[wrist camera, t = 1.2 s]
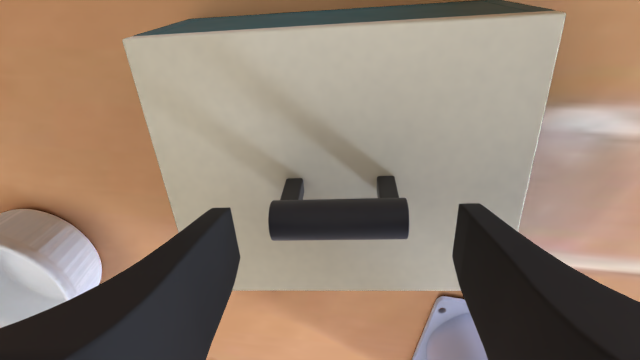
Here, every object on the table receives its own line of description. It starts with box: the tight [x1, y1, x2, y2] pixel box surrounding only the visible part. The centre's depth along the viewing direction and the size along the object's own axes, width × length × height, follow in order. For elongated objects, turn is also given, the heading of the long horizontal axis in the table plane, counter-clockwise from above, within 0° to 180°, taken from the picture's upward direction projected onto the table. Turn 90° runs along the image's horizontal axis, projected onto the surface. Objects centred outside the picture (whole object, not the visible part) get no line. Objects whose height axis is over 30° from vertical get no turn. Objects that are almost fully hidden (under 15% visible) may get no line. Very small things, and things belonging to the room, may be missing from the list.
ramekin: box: [0, 209, 102, 328], centre depth 25 cm, size 9×9×4 cm
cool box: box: [134, 0, 555, 36], centre depth 18 cm, size 11×15×6 cm
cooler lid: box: [123, 10, 566, 291], centre depth 14 cm, size 12×15×4 cm
